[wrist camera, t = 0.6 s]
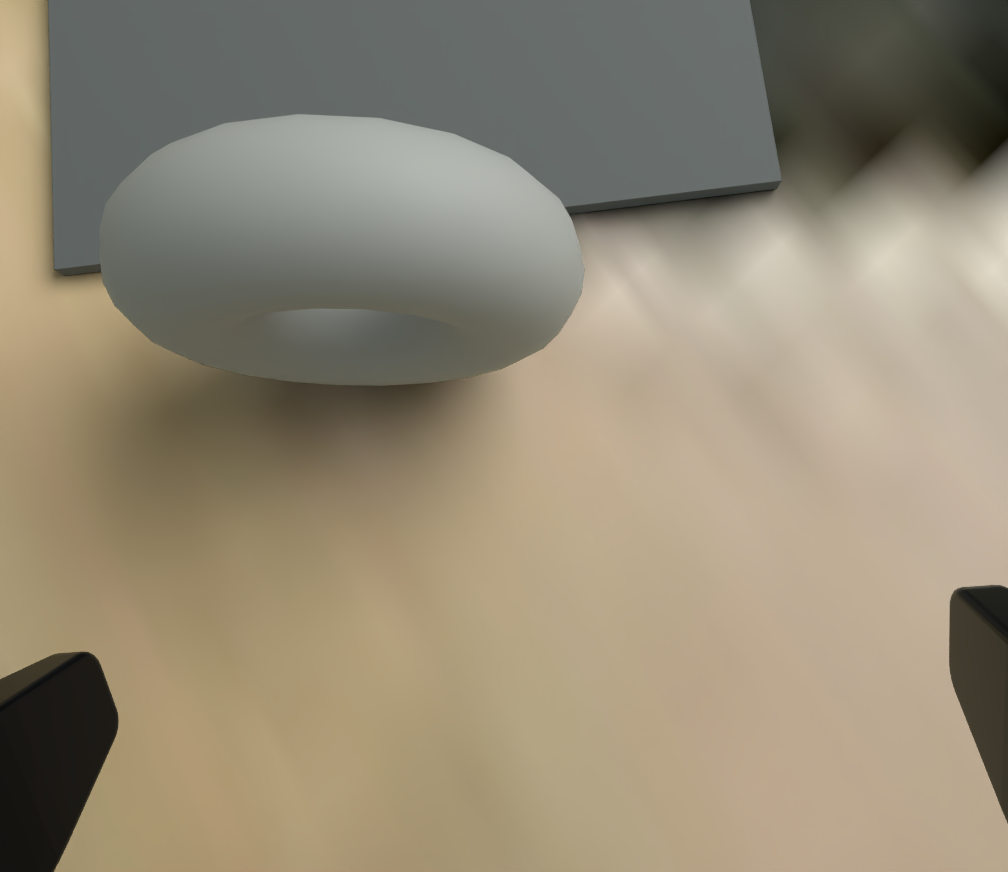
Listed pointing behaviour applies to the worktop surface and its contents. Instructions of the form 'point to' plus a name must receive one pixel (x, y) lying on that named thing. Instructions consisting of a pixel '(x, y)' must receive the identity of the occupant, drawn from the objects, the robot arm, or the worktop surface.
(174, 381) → the worktop surface
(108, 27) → the mat
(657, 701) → the worktop surface
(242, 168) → the donut
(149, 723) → the worktop surface
